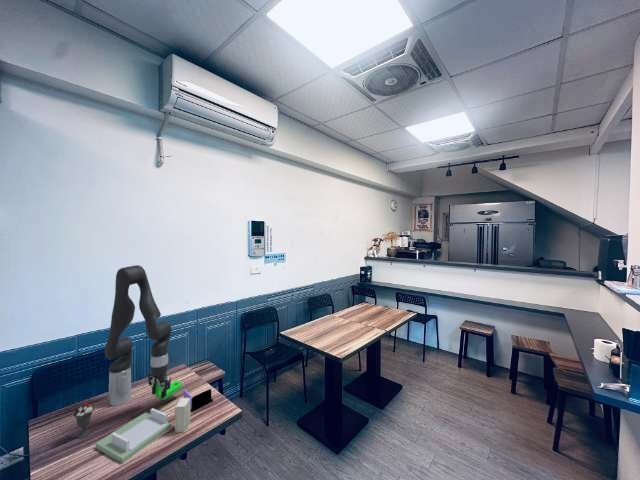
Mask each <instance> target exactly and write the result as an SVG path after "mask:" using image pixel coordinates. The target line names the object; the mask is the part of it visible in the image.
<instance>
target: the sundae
mask: <svg viewBox="0 0 640 480" xmlns="http://www.w3.org/2000/svg"><path fill="white" fill-rule="evenodd" d="M90 401H91V398H88V400H87V401H86V402H84V403H83V404H82V405H80V407H79V408H74V413H73V415H72V416H73V417H75V419H76V424H77V426H78V428H82V429H81V430H82V431H81V432H80V433H78V434H77V435H76V439H79V440H81V439H84V438H87V437H88V436H90V435H91V434H92V432H93V430H91V429H87V426H88V425H89V424H90V423H91V419H92V414H93V412H94V411H95V407H94V406H91V404H90V403H89V402H90Z"/></svg>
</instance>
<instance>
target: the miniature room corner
mask: <svg viewBox="0 0 640 480" xmlns="http://www.w3.org/2000/svg"><path fill="white" fill-rule="evenodd" d="M183 398H191V401H190V413H193V412H196V411H198V410H199V409H202V408H203V407H205V406H207V405H209V404H212V402H214V399H213V398H212V389H211V388H210V389H207V390H205V391H202V392H200V393H197V394H196V395H193V396H192V394H190V392H188V391H187V390H186V389H183Z"/></svg>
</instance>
